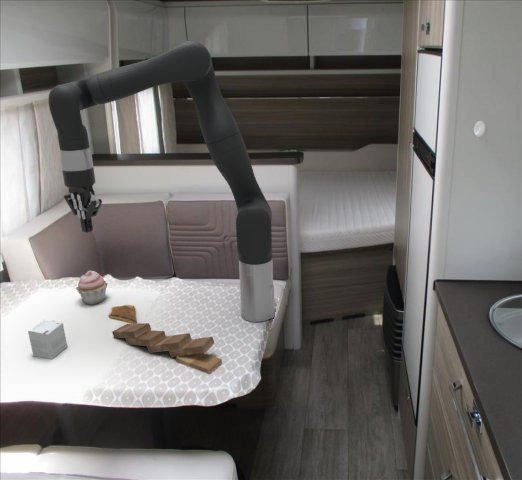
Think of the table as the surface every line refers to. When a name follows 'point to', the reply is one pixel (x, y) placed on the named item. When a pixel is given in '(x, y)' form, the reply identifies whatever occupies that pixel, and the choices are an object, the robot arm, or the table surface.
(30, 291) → the table surface
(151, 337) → the domino
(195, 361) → the domino
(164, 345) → the domino
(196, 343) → the domino
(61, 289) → the table surface
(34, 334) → the skincare box
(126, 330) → the domino
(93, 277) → the cupcake
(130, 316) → the shard
